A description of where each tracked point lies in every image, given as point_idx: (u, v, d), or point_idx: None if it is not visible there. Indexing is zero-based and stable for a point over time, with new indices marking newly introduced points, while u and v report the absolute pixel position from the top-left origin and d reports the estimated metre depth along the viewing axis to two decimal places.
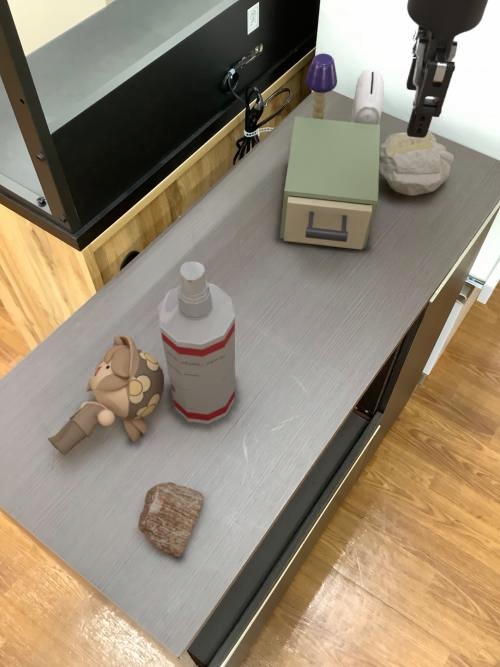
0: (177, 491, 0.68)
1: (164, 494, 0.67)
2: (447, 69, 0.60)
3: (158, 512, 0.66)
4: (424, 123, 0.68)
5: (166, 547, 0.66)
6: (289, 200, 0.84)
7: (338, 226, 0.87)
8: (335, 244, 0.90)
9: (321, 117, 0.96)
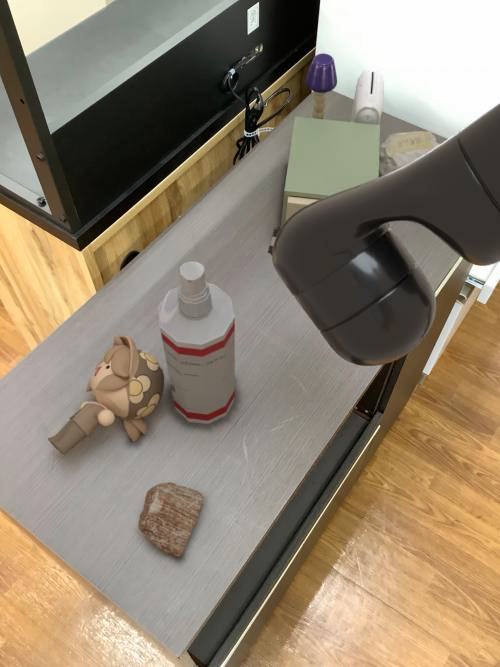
0: (177, 491, 0.68)
1: (164, 494, 0.67)
2: None
3: (158, 512, 0.66)
4: None
5: (166, 547, 0.66)
6: (289, 200, 0.84)
7: None
8: None
9: (321, 117, 0.96)
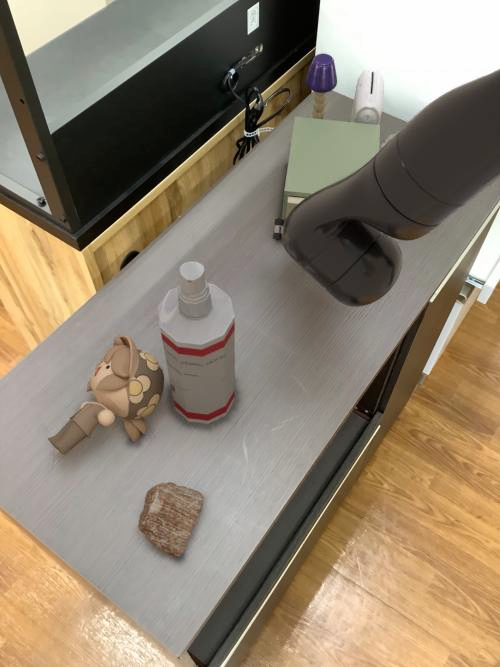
0: (177, 491, 0.68)
1: (164, 494, 0.67)
2: None
3: (158, 512, 0.66)
4: None
5: (166, 547, 0.66)
6: (289, 200, 0.84)
7: None
8: None
9: (321, 117, 0.96)
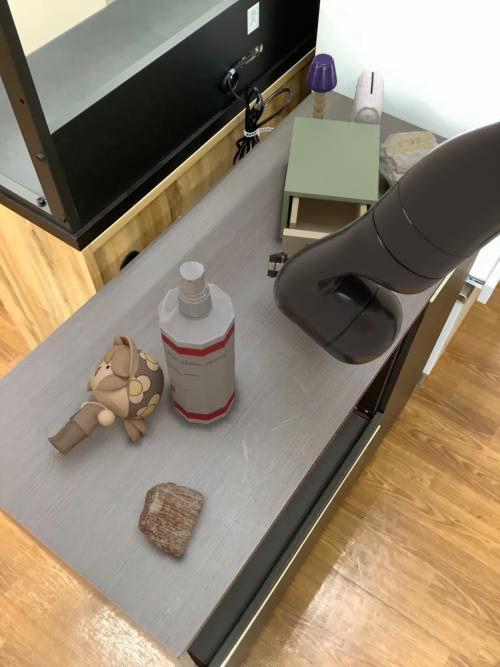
0: (177, 491, 0.68)
1: (164, 494, 0.67)
2: None
3: (158, 512, 0.66)
4: None
5: (166, 547, 0.66)
6: (285, 232, 0.81)
7: None
8: None
9: (321, 117, 0.96)
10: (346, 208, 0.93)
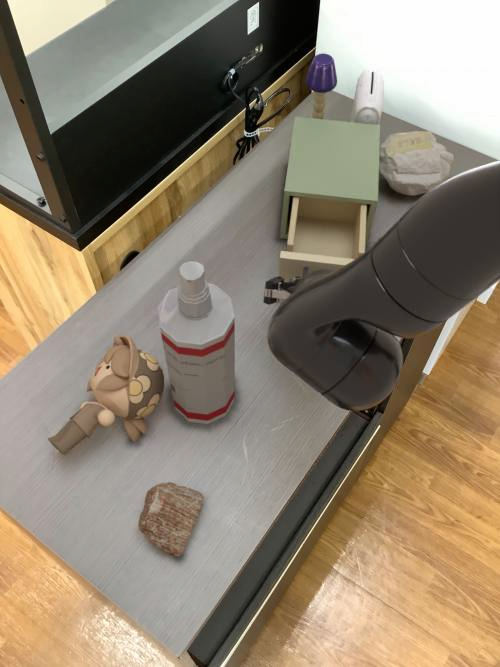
0: (177, 491, 0.68)
1: (164, 494, 0.67)
2: None
3: (158, 512, 0.66)
4: None
5: (166, 547, 0.66)
6: (282, 255, 0.79)
7: None
8: None
9: (321, 117, 0.96)
10: (345, 227, 0.91)
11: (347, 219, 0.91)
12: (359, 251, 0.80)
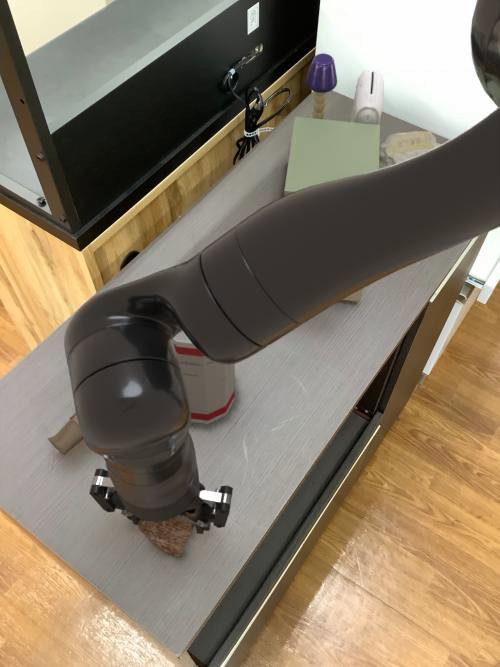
0: None
1: None
2: None
3: None
4: None
5: (166, 547, 0.66)
6: None
7: None
8: None
9: (321, 117, 0.96)
10: None
11: None
12: None
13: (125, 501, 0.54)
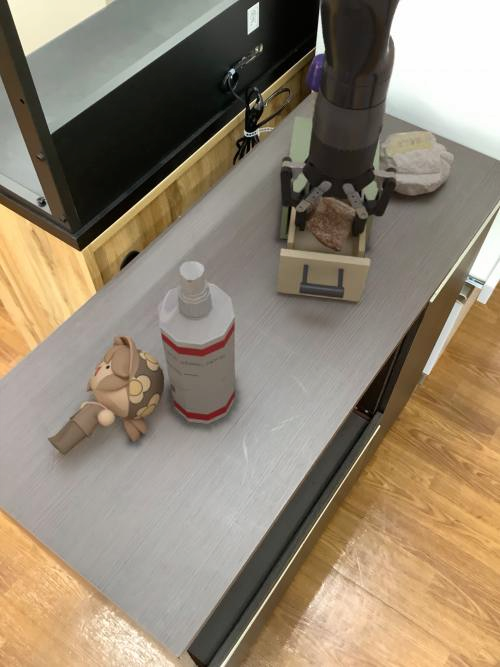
0: (335, 201, 0.81)
1: (326, 200, 0.80)
2: None
3: (323, 212, 0.80)
4: None
5: (330, 241, 0.79)
6: (282, 253, 0.79)
7: (334, 279, 0.82)
8: None
9: None
10: None
11: None
12: (359, 249, 0.80)
13: (327, 148, 0.67)
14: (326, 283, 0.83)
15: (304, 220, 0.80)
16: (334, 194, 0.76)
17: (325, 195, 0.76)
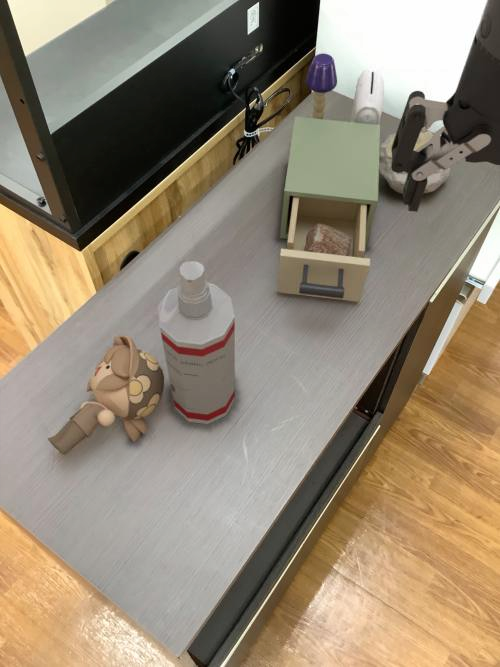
0: (332, 230, 0.86)
1: (323, 229, 0.85)
2: None
3: (321, 241, 0.84)
4: None
5: None
6: (282, 253, 0.79)
7: (334, 279, 0.82)
8: (331, 296, 0.85)
9: (321, 117, 0.96)
10: (345, 225, 0.91)
11: (347, 217, 0.91)
12: (359, 249, 0.80)
13: None
14: (326, 283, 0.83)
15: (421, 194, 0.52)
16: (487, 157, 0.48)
17: (471, 159, 0.49)
